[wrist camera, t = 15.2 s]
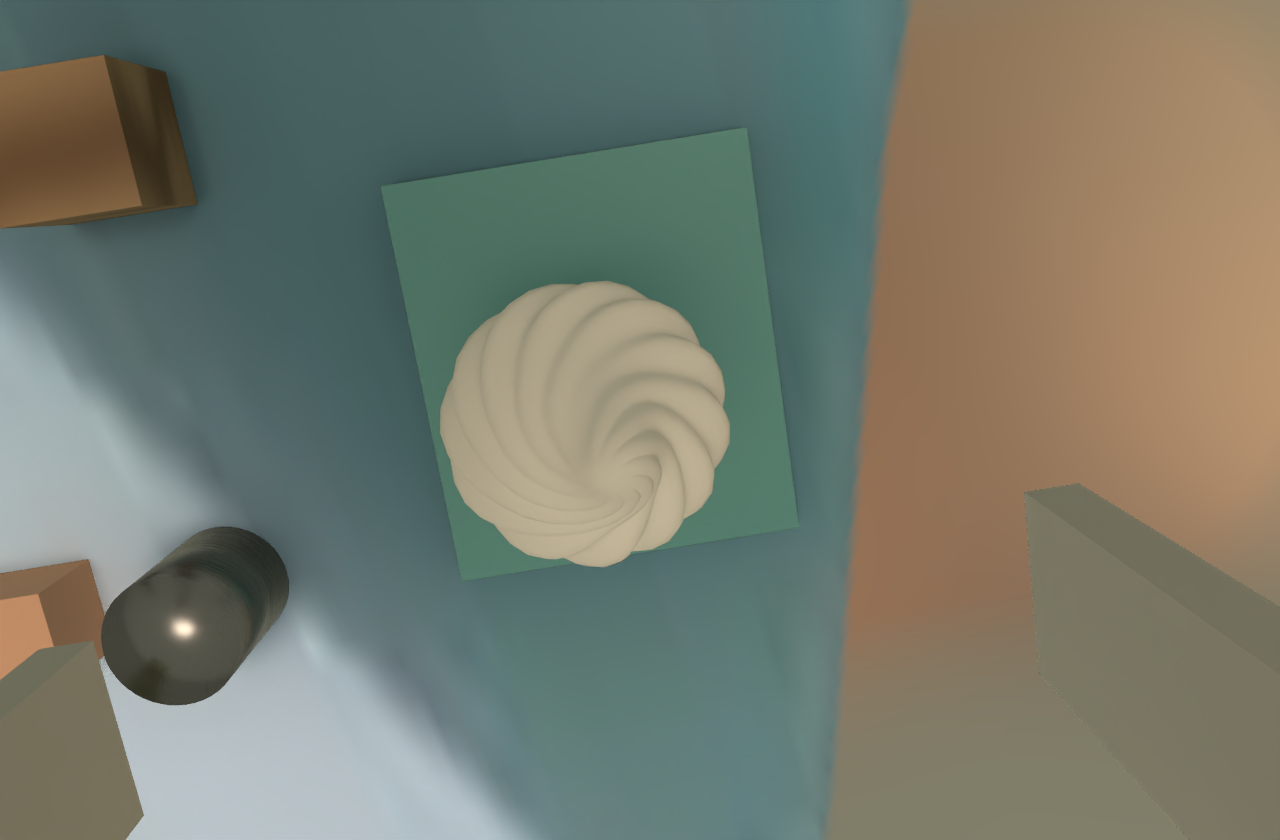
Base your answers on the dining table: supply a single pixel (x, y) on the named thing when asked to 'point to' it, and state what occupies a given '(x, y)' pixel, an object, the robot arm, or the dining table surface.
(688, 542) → the teal board
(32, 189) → the walnut cube
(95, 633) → the terracotta block
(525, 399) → the soft serve ice cream cone
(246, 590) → the dark metal cylinder
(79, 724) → the robot arm
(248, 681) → the dining table surface
